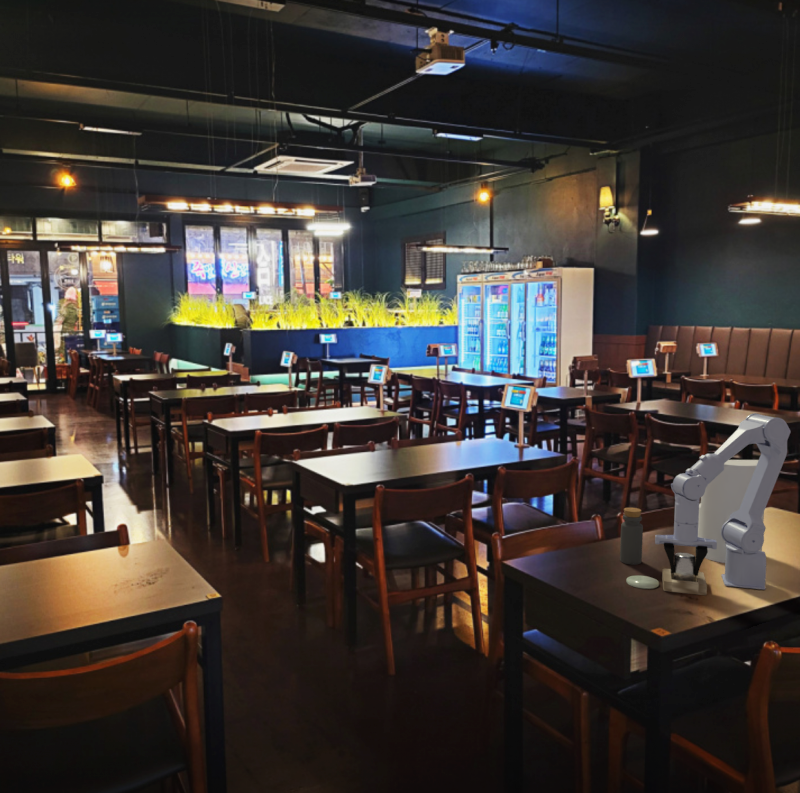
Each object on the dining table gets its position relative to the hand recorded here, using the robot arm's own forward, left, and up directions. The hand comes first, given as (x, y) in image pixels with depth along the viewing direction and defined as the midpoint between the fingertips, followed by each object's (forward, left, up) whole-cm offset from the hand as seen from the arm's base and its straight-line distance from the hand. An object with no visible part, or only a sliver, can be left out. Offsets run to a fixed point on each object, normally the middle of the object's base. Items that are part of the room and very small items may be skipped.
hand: (684, 573), depth 186 cm
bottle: (+13, -16, -4) cm, 21 cm away
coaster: (+10, +1, -3) cm, 11 cm away
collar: (0, 0, -3) cm, 3 cm away
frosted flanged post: (0, 0, -3) cm, 3 cm away
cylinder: (-14, -31, -4) cm, 34 cm away
